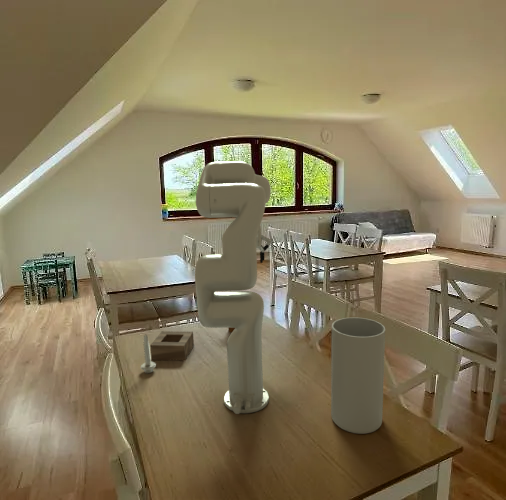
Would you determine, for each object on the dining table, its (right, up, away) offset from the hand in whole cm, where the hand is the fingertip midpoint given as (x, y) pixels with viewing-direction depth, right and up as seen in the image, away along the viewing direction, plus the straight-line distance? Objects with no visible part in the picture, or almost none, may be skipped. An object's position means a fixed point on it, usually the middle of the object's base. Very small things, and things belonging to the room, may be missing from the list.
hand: (248, 262), depth 144 cm
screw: (-33, -35, -18) cm, 51 cm away
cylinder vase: (+28, -39, -46) cm, 66 cm away
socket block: (-27, -33, -5) cm, 43 cm away
